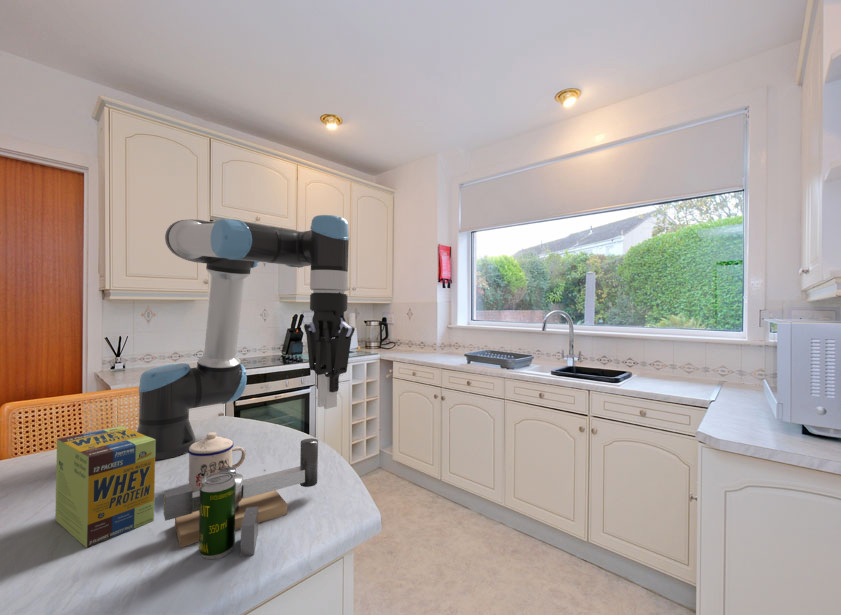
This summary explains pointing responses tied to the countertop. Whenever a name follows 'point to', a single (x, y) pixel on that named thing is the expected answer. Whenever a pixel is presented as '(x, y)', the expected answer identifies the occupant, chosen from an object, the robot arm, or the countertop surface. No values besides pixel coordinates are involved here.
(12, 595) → the countertop surface
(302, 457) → the lever
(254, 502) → the press bench
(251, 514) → the pivot and anvil
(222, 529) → the green drink can
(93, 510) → the protein box
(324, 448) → the countertop surface
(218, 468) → the teacup with lid
